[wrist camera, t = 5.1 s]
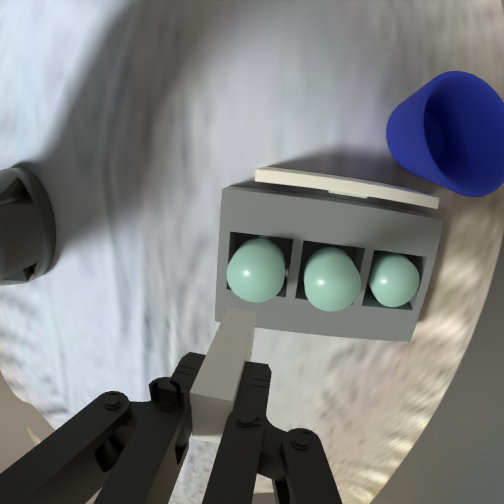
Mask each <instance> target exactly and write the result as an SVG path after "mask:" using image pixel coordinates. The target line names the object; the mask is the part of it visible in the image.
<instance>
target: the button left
mask: <svg viewBox="0 0 504 504" xmlns="http://www.w3.org/2000/svg"><path fill="white" fill-rule="evenodd" d="M284 275H285V257H284V254H283V252H282V251H281V249H280V248H279V247H278V246H277V245H276V244H275V243H273V242H272V241H270V240H267V239H263V238H255V239H250V240H248V241H246V242H244V243H243V244H242V245H241V246H240V247H239V248H238V249H237V251H236V253H235V254H234V256H233V258H232V259H231V261H230V263H229V265H228V268H227V281H228V284H229V286H230V288H231V289H232V291H233V292H234V293H235V294H236V295H237V296H239V297H240V298H242V299H244V300H246V301H249V302H264V301H267V300H270V299H271V298H273V297H274V296H276V295H277V294H278V293H279V291H280V290H281V288H282V286H283V283H284Z"/></svg>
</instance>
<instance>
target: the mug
mask: <svg viewBox="0 0 504 504" xmlns="http://www.w3.org/2000/svg"><path fill="white" fill-rule="evenodd" d="M386 137H387V143H388V147H389V150H390V152H391V154H392V156H393V157H394V159H395V160H396V162H397V163H398V164H399V165H400V166H401V167H402V168H403V169H405V170H406V171H407V172H409V173H411V174H413V175H415V176H418V177H420V178H423V179H425V180H428V181H430V182H433V183H435V184H437V185H440V186H442V187H444V188H447V189H449V190H451V191H454V192H456V193H458V194H461V195H464V196H468V197H480V196H485V195H488V194H490V193H492V192H493V191H495V190H496V189H497V188H499V187H500V186H501V185H502V183H503V182H504V103H503V102H502V100H501V98H500V97H499V96H498V94H497V93H496V92H495V91H494V90H493V89H492V88H491V87H490V86H489V85H488V84H487V83H486V82H484V81H483V80H482V79H480V78H478V77H477V76H475V75H472V74H470V73H466V72H461V71H450V72H446V73H443V74H440V75H438V76H437V77H435V78H434V79H433V80H431V81H430V82H429V83H427V84H426V85H425V86H423V87H422V88H421V89H419V90H418V91H417V92H415V93H414V94H413V95H412V96H410V97H409V98H408V99H406V100H405V101H404V102H402V103H401V104H400V105H399V106H398V107H397V108H396V109H395V110H394V111H393V112H392V114H391V116H390V118H389V121H388V124H387V130H386Z"/></svg>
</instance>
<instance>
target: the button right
mask: <svg viewBox="0 0 504 504" xmlns="http://www.w3.org/2000/svg"><path fill="white" fill-rule="evenodd" d="M367 282H368V284H369V286H370V288H371V290H372V292H373V294H374V295H375V297H376V299H377V300H378V301H379V302H380V303H381V304H383V305H385V306H388V307H397V306H401V305H403V304H405V303H407V302H408V301H409V300H411V299H412V298H413V296H414V295H415V293H416V292H417V289H418V287H419V273H418V271H417V269H416V267H415V266H414V265H413V264H412V263H411V262H410V261H409V260H408V259H407V258H406V257H405V256H404V255H403V254H402V253H396V252H388V251H380V252H378V253H377V254H375V255H374V256H373V258H372V263H371V267H370V272H369V276H368V281H367Z"/></svg>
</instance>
